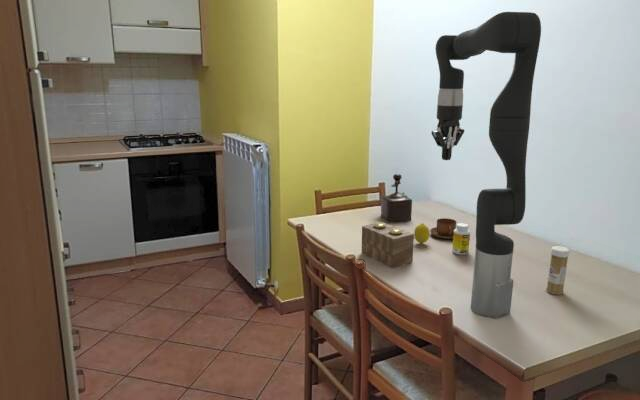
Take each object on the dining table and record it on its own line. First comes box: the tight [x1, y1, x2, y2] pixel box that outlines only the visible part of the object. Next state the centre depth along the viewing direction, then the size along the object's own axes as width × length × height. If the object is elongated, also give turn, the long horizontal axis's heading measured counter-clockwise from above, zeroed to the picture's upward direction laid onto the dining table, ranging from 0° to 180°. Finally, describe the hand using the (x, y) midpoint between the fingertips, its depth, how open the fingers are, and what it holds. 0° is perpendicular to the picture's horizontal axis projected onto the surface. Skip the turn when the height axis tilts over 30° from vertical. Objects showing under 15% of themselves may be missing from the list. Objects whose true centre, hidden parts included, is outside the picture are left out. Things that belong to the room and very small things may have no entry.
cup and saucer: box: [429, 217, 457, 240], centre depth 190 cm, size 12×12×6 cm
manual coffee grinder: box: [380, 173, 413, 223], centre depth 214 cm, size 16×11×18 cm
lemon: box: [413, 222, 431, 245], centre depth 181 cm, size 6×6×8 cm
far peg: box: [373, 222, 387, 229], centre depth 170 cm, size 4×4×10 cm
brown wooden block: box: [361, 221, 415, 269], centre depth 167 cm, size 16×9×10 cm, turn 35°
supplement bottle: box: [452, 222, 471, 256], centre depth 172 cm, size 6×6×10 cm
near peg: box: [390, 228, 403, 235], centre depth 164 cm, size 4×4×10 cm
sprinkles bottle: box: [546, 245, 570, 295], centre depth 141 cm, size 5×5×14 cm
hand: (446, 159), depth 154 cm, fingers closed
